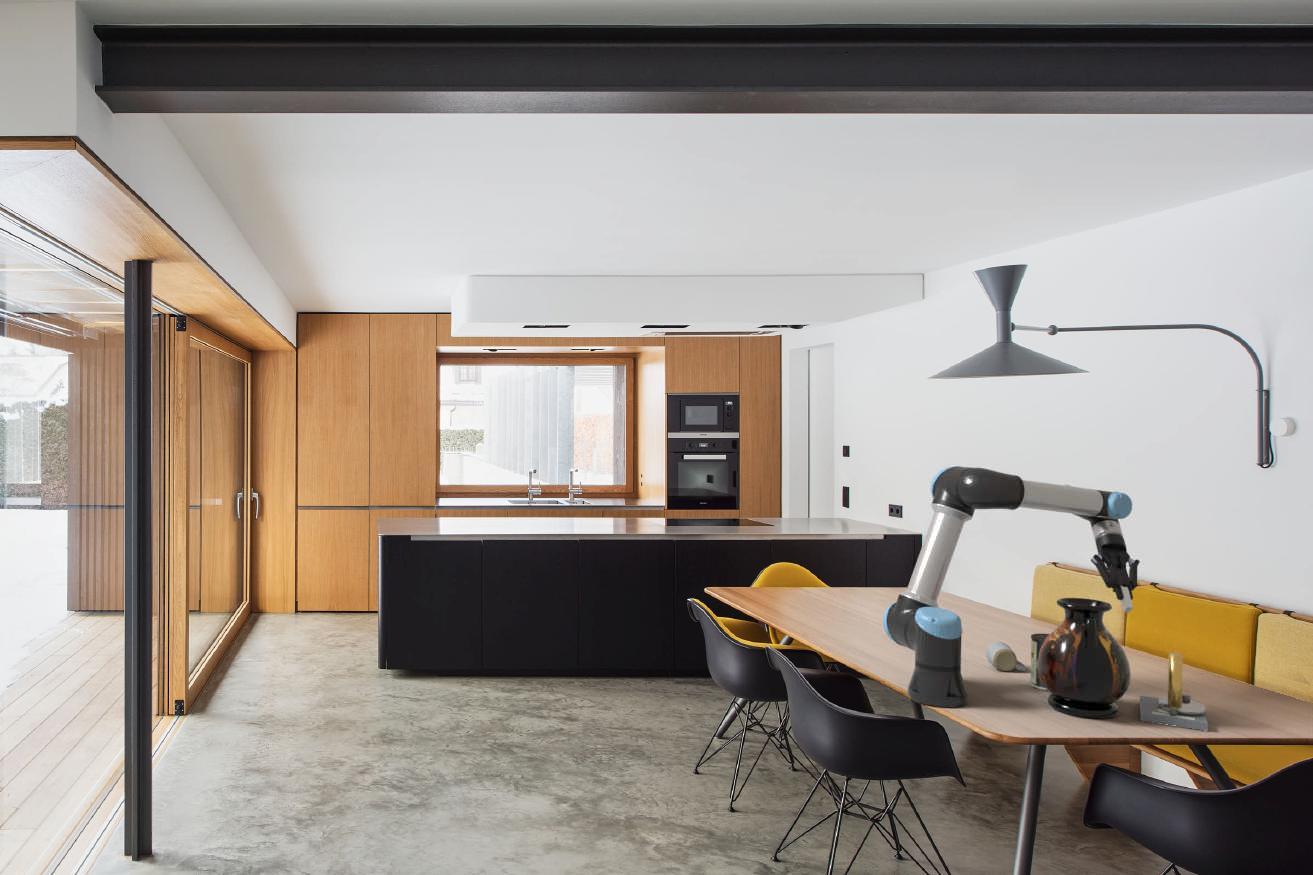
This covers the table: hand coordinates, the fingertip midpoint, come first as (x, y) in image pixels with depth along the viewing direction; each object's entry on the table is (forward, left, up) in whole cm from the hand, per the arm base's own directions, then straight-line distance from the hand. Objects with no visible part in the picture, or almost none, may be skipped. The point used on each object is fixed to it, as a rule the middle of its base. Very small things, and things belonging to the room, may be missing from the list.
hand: (1128, 609), depth 228 cm
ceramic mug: (+12, +32, -24) cm, 42 cm away
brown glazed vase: (-21, +10, -24) cm, 33 cm away
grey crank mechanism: (-14, -10, -24) cm, 29 cm away
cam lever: (-15, -12, -21) cm, 28 cm away
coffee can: (-2, +19, -24) cm, 31 cm away
